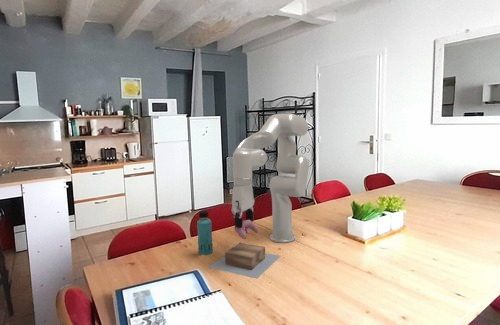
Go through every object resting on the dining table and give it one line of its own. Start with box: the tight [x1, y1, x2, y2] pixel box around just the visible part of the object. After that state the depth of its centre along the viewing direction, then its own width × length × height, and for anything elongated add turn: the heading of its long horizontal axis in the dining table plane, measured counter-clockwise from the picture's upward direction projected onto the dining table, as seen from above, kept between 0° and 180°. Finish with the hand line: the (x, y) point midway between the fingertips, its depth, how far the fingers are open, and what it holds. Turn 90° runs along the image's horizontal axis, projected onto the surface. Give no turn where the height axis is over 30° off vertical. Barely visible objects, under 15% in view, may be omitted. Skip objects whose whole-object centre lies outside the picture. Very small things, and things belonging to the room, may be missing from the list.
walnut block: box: [224, 242, 266, 270], centre depth 133 cm, size 12×12×5 cm
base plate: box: [208, 252, 282, 279], centre depth 133 cm, size 22×22×2 cm
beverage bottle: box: [196, 210, 214, 256], centre depth 143 cm, size 6×7×20 cm
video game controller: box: [234, 219, 260, 240], centre depth 131 cm, size 10×5×7 cm, turn 142°
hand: (244, 224), depth 131 cm, fingers closed on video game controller, 8 cm apart
